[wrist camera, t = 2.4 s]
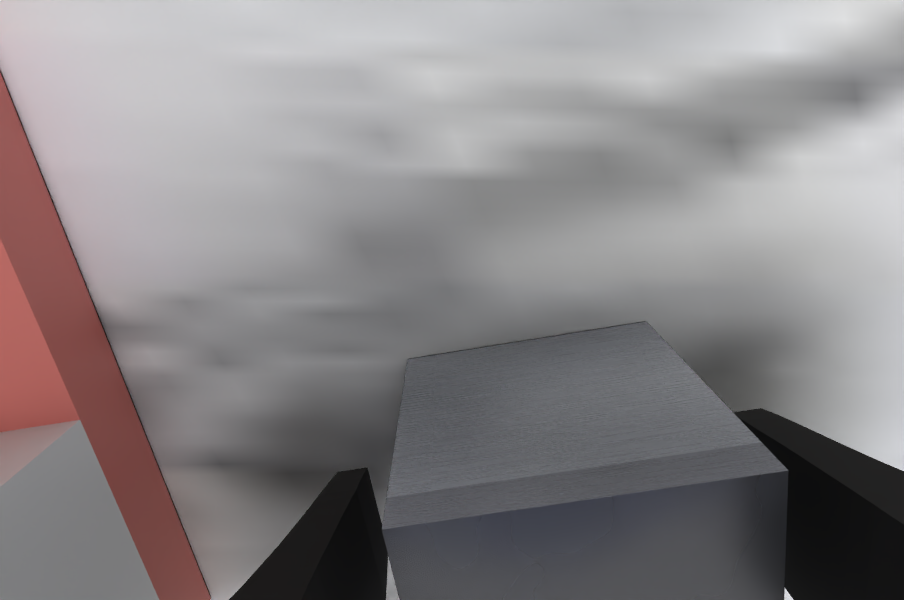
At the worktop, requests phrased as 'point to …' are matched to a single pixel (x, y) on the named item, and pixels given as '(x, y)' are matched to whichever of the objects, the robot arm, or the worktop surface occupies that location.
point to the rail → (70, 423)
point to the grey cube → (579, 478)
